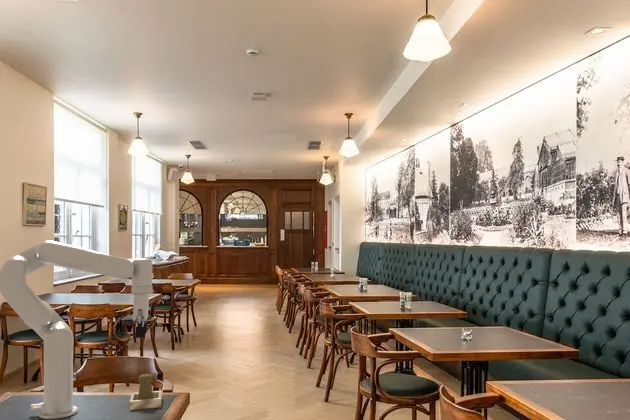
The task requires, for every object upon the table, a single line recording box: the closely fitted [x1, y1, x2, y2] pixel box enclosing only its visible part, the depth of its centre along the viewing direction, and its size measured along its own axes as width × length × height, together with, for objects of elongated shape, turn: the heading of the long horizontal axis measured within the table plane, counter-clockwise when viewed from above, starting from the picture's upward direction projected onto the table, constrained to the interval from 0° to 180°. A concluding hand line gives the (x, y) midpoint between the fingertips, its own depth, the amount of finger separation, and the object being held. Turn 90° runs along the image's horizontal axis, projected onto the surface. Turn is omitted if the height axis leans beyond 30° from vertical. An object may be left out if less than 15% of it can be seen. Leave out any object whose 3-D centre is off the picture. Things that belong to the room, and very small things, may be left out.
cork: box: [137, 373, 154, 400], centre depth 206 cm, size 6×6×11 cm
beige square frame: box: [129, 390, 163, 411], centre depth 206 cm, size 11×11×3 cm
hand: (141, 335), depth 211 cm, fingers open, 9 cm apart
